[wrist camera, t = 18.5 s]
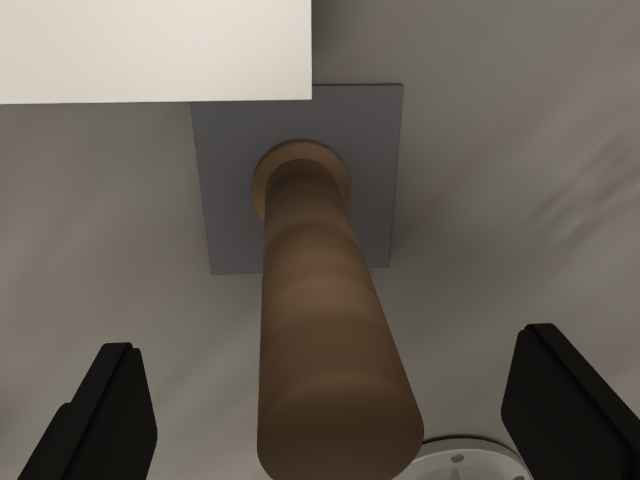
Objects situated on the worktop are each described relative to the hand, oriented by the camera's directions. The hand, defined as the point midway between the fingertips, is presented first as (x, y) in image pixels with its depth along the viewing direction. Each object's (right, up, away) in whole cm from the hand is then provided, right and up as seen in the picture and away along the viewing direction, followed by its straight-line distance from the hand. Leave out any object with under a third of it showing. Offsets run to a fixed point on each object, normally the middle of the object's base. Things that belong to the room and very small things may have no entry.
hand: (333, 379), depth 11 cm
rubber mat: (-1, +6, +10) cm, 12 cm away
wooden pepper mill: (-1, +6, +10) cm, 11 cm away
